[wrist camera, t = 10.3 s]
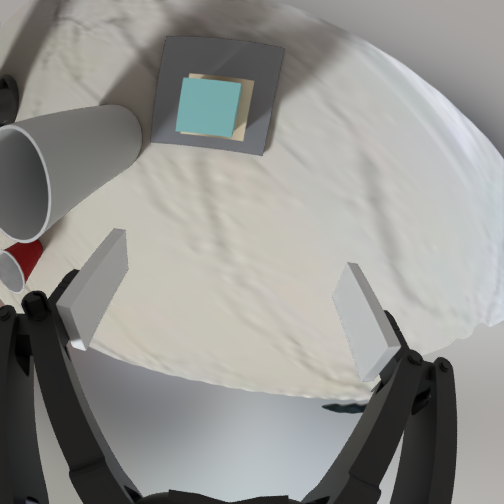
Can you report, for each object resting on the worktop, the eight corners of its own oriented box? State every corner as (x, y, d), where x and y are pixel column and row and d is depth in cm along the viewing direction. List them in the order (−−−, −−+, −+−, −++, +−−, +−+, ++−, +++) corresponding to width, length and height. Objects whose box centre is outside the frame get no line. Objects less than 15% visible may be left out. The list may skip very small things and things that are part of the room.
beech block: (190, 128, 32) (180, 133, 27) (198, 78, 29) (189, 73, 23) (243, 135, 33) (243, 141, 28) (253, 84, 29) (254, 80, 24)
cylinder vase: (132, 181, 43) (50, 259, 22) (77, 162, 40) (-18, 221, 19) (153, 114, 37) (59, 138, 16) (93, 97, 34) (-16, 117, 13)
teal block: (189, 125, 27) (175, 131, 21) (195, 82, 24) (183, 77, 19) (234, 130, 27) (231, 137, 22) (242, 87, 25) (241, 83, 19)
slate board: (153, 141, 39) (150, 142, 38) (168, 38, 30) (166, 36, 29) (261, 154, 41) (262, 156, 40) (283, 50, 32) (284, 48, 31)
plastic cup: (51, 235, 48) (21, 264, 37) (50, 270, 53) (26, 301, 42) (20, 218, 45) (-11, 244, 35) (21, 253, 50) (-5, 281, 40)
